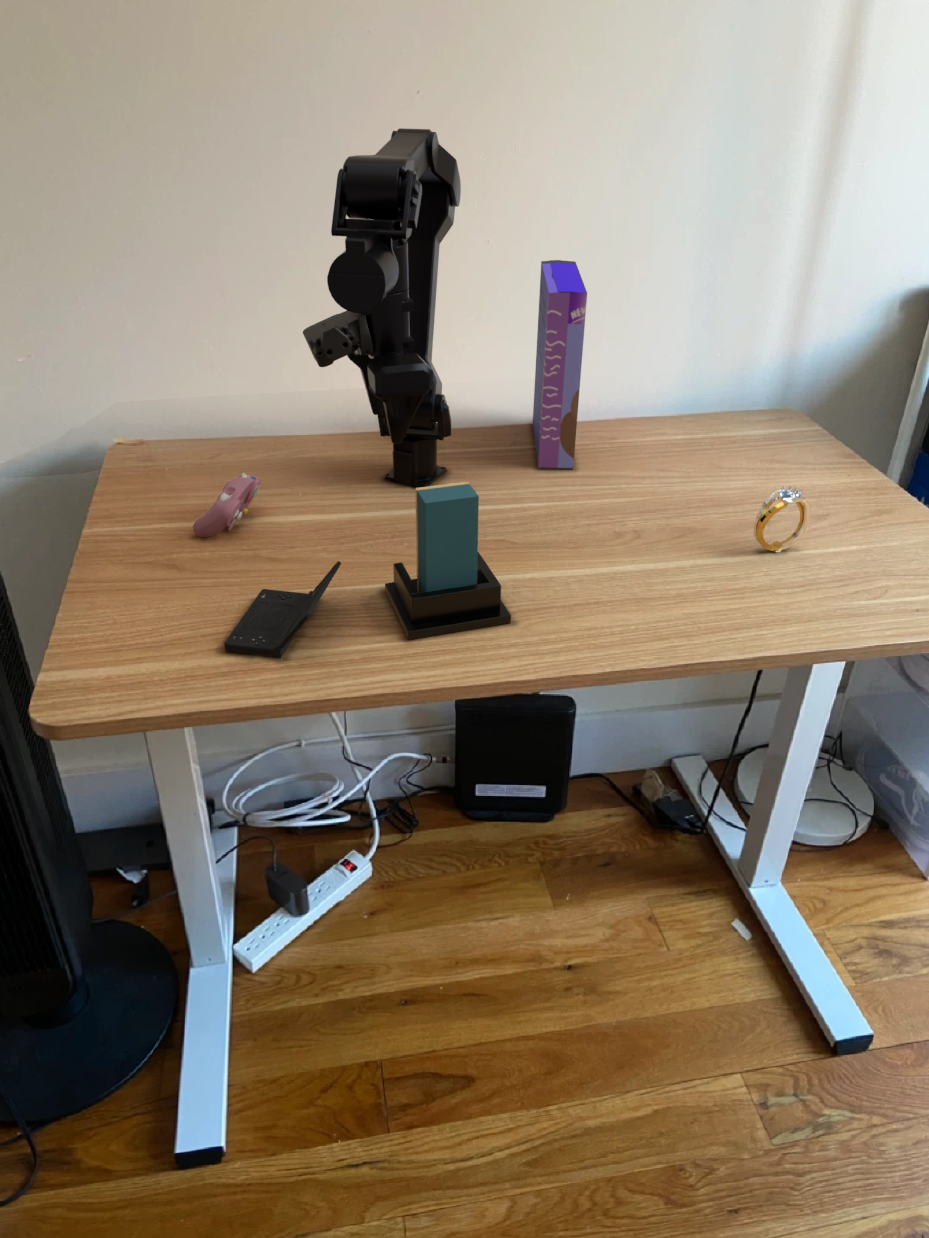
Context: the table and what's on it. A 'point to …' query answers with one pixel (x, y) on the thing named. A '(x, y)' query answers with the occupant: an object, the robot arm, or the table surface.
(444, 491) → the teal rectangular block
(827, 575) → the table surface
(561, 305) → the cereal box
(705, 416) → the table surface
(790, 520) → the table surface
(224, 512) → the video game controller
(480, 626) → the black square holder
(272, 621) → the handheld gaming console
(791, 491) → the ring
